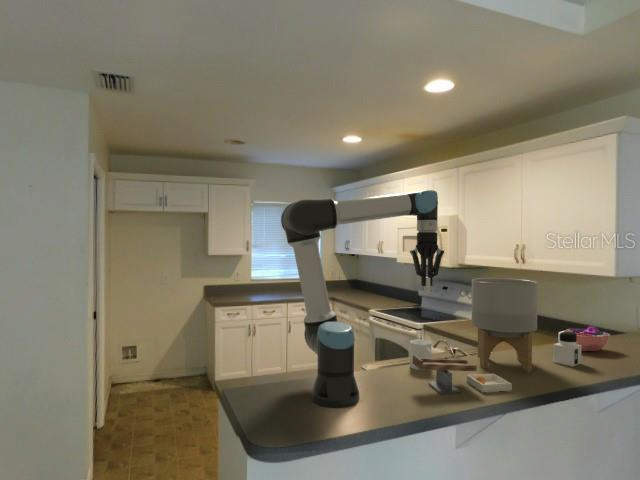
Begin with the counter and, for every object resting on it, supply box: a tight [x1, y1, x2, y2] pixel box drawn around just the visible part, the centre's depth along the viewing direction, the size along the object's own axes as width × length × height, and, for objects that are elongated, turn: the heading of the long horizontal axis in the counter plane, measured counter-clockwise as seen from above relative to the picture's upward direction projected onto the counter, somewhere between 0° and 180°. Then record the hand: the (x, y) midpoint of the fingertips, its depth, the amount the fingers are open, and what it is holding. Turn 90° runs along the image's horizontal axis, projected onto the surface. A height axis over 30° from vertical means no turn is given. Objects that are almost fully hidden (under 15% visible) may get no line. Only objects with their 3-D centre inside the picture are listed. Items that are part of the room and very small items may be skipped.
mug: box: [409, 339, 434, 372], centre depth 166 cm, size 12×8×10 cm
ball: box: [476, 376, 486, 384], centre depth 146 cm, size 3×3×3 cm
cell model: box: [563, 325, 611, 352], centre depth 197 cm, size 17×20×11 cm
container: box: [552, 330, 582, 367], centre depth 176 cm, size 8×8×13 cm
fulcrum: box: [427, 370, 461, 395], centre depth 144 cm, size 7×10×7 cm
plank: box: [413, 355, 478, 372], centre depth 147 cm, size 20×13×3 cm, turn 98°
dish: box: [466, 373, 513, 394], centre depth 147 cm, size 11×11×3 cm
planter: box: [470, 277, 538, 373], centre depth 175 cm, size 25×25×34 cm
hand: (426, 294), depth 158 cm, fingers closed
